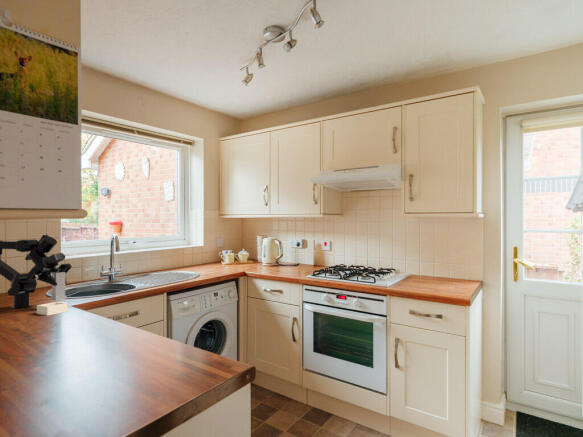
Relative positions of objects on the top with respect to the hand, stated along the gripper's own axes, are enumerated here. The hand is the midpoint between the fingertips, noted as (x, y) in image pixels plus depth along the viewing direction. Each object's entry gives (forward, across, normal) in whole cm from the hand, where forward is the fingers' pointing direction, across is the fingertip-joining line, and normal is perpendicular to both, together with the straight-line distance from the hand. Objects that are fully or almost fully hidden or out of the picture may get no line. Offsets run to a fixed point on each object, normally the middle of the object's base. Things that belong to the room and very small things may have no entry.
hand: (61, 284), depth 152 cm
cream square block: (+10, -8, +5) cm, 14 cm away
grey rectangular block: (+4, 0, +6) cm, 7 cm away
